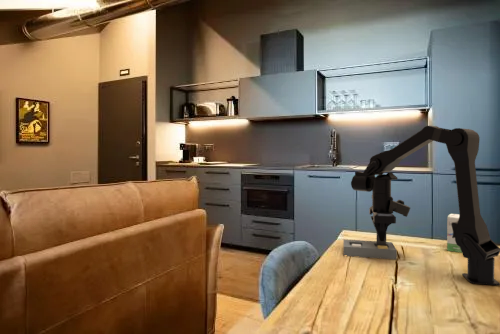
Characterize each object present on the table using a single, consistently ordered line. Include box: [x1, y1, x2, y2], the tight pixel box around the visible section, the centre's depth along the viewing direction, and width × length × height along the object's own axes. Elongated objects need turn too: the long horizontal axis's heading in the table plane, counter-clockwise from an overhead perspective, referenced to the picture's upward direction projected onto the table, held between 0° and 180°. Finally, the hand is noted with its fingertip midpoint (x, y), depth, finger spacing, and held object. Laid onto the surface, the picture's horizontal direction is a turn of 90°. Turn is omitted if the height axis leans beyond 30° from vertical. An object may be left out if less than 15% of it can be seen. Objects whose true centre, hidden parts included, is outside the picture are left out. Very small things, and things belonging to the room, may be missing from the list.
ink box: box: [446, 213, 462, 253], centre depth 116 cm, size 8×5×12 cm, turn 143°
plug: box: [376, 233, 387, 247], centre depth 110 cm, size 3×3×8 cm
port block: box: [343, 239, 398, 260], centre depth 111 cm, size 10×16×4 cm, turn 75°
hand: (381, 239), depth 110 cm, fingers closed on plug, 3 cm apart
